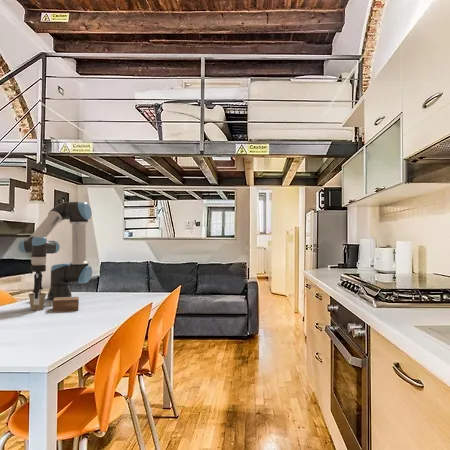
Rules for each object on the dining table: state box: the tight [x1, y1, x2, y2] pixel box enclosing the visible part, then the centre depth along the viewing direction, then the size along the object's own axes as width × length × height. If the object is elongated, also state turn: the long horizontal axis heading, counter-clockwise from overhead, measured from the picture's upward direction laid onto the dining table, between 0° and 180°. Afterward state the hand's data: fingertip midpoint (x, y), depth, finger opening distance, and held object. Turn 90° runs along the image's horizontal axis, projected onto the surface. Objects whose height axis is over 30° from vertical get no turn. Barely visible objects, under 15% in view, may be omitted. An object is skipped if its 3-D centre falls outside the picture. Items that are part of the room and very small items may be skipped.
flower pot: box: [28, 292, 48, 311], centre depth 222 cm, size 9×9×9 cm
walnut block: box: [52, 296, 80, 313], centre depth 224 cm, size 13×13×6 cm
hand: (37, 302), depth 222 cm, fingers open, 13 cm apart
